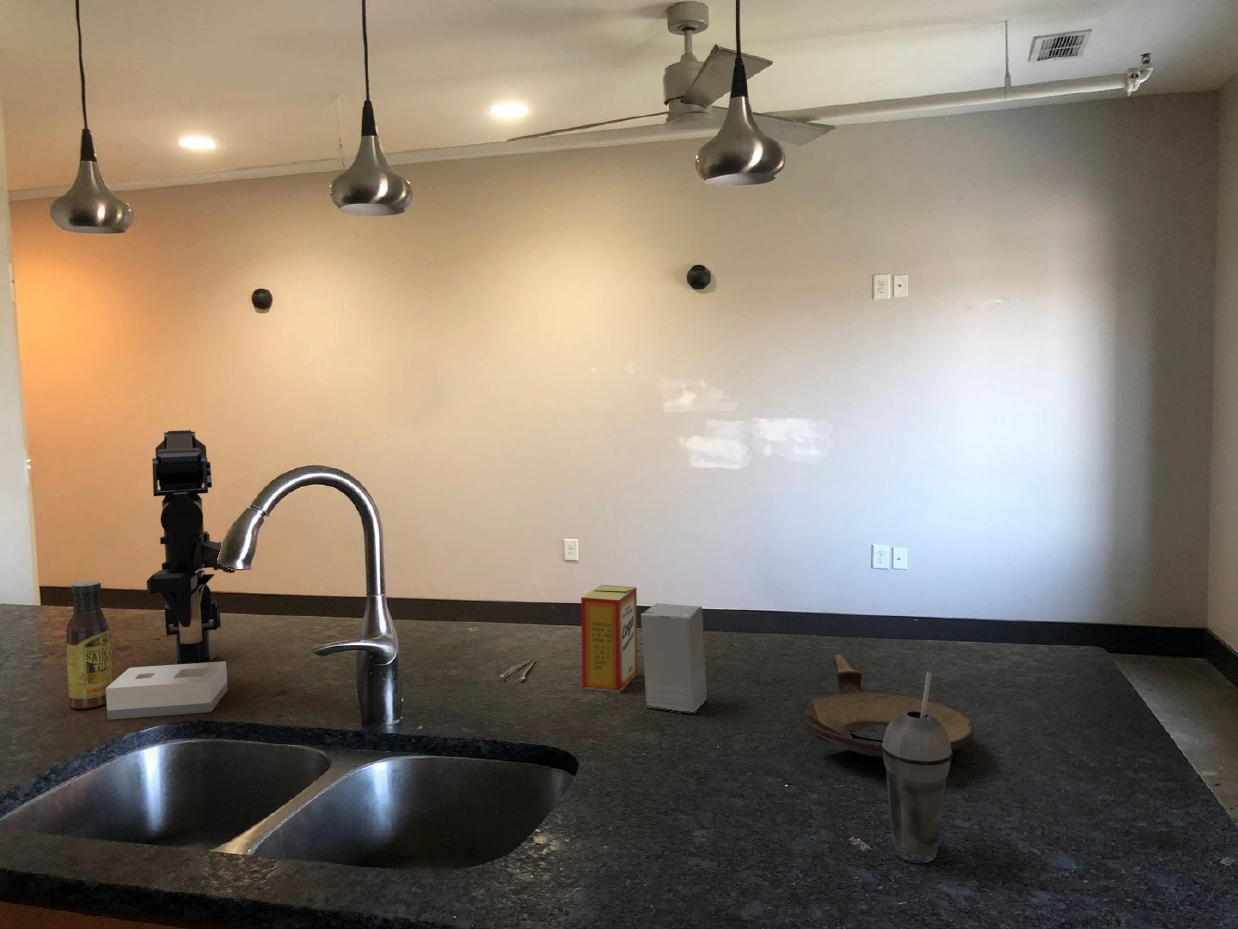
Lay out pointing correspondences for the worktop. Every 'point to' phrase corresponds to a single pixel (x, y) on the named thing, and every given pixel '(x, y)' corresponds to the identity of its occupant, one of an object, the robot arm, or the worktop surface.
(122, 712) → the hole block
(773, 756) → the worktop surface
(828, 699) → the oil lamp
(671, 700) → the skincare box
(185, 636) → the oak peg
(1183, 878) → the worktop surface
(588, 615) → the baking soda box
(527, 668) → the tweezers
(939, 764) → the beverage cup
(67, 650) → the sauce bottle
